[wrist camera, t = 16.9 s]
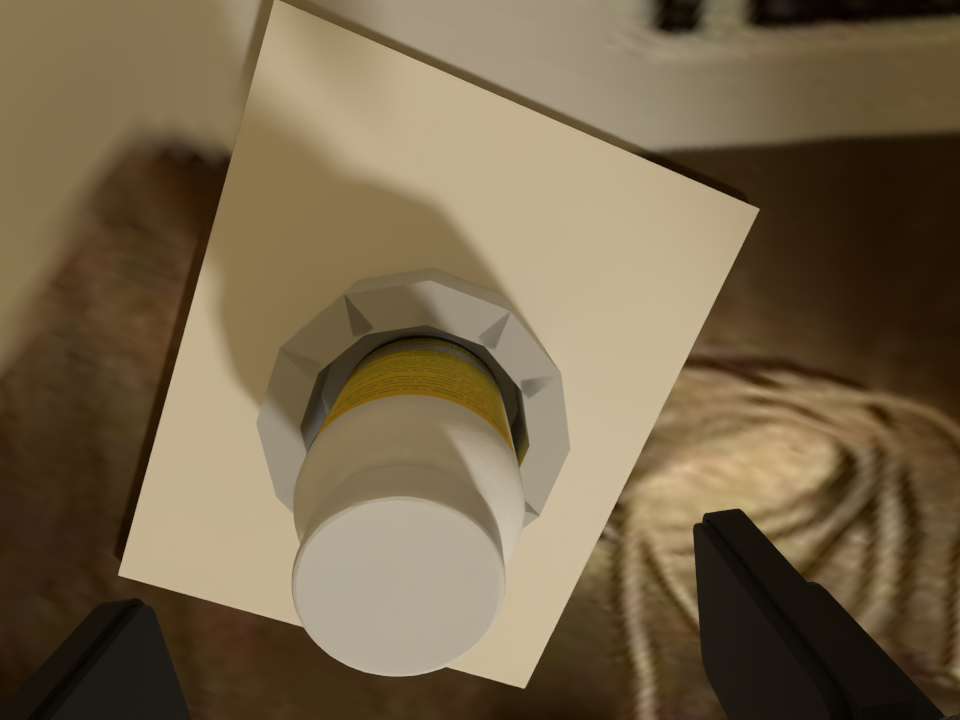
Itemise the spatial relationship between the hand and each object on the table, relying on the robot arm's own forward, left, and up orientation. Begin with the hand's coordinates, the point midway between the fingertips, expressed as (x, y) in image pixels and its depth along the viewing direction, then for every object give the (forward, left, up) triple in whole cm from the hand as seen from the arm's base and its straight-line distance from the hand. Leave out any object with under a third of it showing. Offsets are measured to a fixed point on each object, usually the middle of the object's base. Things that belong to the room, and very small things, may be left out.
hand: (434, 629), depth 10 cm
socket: (+1, 0, -11) cm, 11 cm away
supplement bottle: (+1, 0, -11) cm, 11 cm away
